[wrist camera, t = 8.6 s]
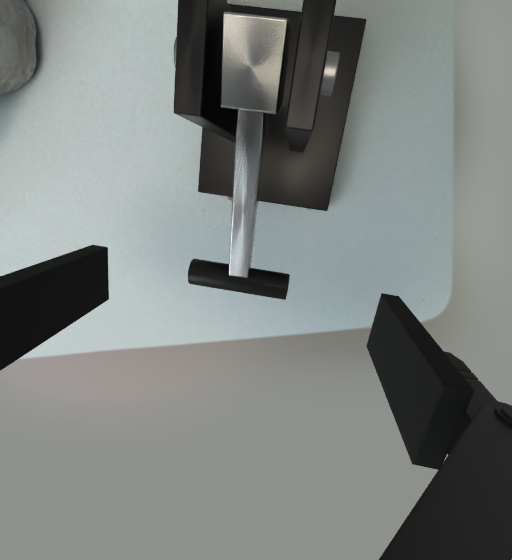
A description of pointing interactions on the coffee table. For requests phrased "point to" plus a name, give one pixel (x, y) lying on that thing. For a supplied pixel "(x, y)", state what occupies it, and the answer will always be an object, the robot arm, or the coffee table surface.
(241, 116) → the lever
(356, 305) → the coffee table surface
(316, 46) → the bracket
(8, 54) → the decorative stone
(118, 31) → the coffee table surface
